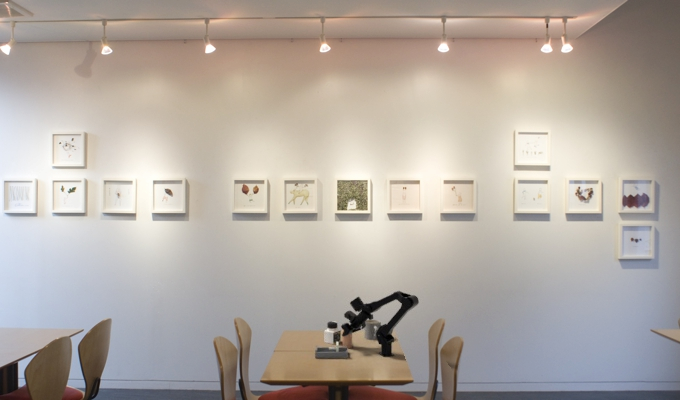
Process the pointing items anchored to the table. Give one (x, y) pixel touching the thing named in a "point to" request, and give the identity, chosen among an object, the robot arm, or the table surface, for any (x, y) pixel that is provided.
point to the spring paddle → (335, 347)
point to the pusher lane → (330, 352)
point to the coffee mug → (372, 329)
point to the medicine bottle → (332, 333)
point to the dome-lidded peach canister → (347, 340)
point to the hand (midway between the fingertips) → (345, 334)
